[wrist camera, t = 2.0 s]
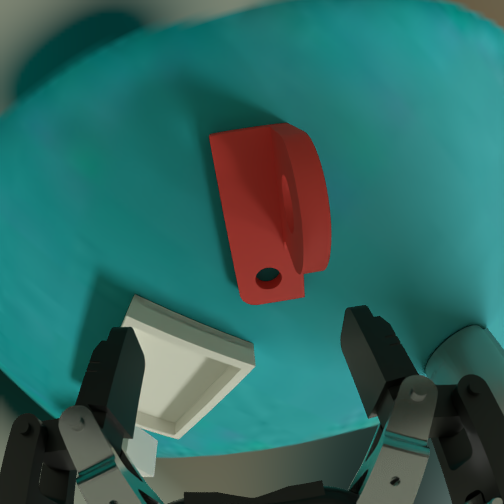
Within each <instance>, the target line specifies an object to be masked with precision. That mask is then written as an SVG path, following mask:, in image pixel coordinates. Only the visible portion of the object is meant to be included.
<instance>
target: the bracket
mask: <svg viewBox="0 0 504 504" xmlns="http://www.w3.org/2000/svg"><path fill="white" fill-rule="evenodd" d="M209 139H210V145H211V150H212V156H213V161H214V166H215V172H216V177H217V182H218V188H219V193H220V198H221V203H222V208H223V214H224V219H225V224H226V229H227V234H228V239H229V244H230V249H231V254H232V259H233V264H234V269H235V273H236V278H237V283H238V288H239V293H240V297H241V298H242V300H243V301H244V302H246V303H248V304H251V305H259V304H265V303H272V302H278V301H284V300H290V299H296V298H302V297H305V294H304V275H303V274H305V273H311V272H317V271H323V270H325V269H326V267H327V265H328V262H329V258H330V251H331V218H330V208H329V200H328V194H327V188H326V183H325V178H324V174H323V170H322V166H321V163H320V160H319V157H318V154H317V151H316V149H315V146H314V144H313V142H312V140H311V139H310V137H309V136H308V134H307V133H305V132H304V131H302V130H300V129H298V128H296V127H294V126H292V125H290V124H288V123H280V124H272V125H264V126H256V127H249V128H243V129H236V130H230V131H224V132H218V133H213V134H210V135H209ZM269 267H270V268H275V269H277V270H278V271H279V274H278V276H277V277H276V278H275V279H273V280H271V281H262V280H259V279H258V278H257V277H256V275H257V273H258V272H259V271H260V270H262V269H264V268H269Z"/></svg>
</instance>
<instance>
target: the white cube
mask: <svg viewBox="0 0 504 504" xmlns="http://www.w3.org/2000/svg"><path fill="white" fill-rule="evenodd" d="M157 442H158V441H157V440H156V439H154V438H153V437H152V436H150V435H149V434H148V433H146V432H145V431H144V430H142V429H141V428H139V427H136V426H135V429H134V436H133V439H126V438H123V442H122V447H123V449H124V450H125V452H126V453H127V455H128V457H129V458H130V460H131V461H132V463H133V464H134V466H135V467H136V469H137V470H138V472H139V473H140V475H141V476H142V477H154V470H155V460H156V451H157Z"/></svg>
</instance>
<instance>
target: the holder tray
mask: <svg viewBox="0 0 504 504" xmlns="http://www.w3.org/2000/svg"><path fill="white" fill-rule="evenodd" d="M121 327H132V328H133V330H134V332H135V334H136V337H137V339H138V341H139V344H140V346H141V349H142V351H143V353H144V357H145V371H144V377H143V382H142V387H141V393H140V398H139V404H138V410H137V416H136V422H135V426H136V427H139V428H142V429H145V430H148V431H152V432H155V433H158V434H161V435H165V436H168V437H172V438H176V439H179V438H180V437H182V436H183V435H184V434H185V433H186V432H187V431H188V430H189V429H191V428H192V427H193V426H194V425H195V424H196V423H197V422H198V421H199V420H200V419H202V418H203V417H204V416H205V415H206V414H207V413H208V412H209V411H210V410H211V409H212V408H213V407H214V406H215V405H217V404H218V403H219V402H220V401H221V400H222V399H223V398H224V397H225V396H226V395H227V394H228V393H229V392H230V391H231V390H232V389H233V388H234V387H235V386H236V385H237V384H238V383H239V382H240V381H241V380H242V379H243V378H244V377H245V376H246V375H247V374H248V373H249V372H250V371H251V370H252V369H253V368H254V367H255V356H254V346H253V343H250V342H247V341H244V340H242V339H239V338H237V337H234V336H231V335H229V334H226V333H224V332H221V331H219V330H216V329H214V328H211V327H209V326H206V325H204V324H201V323H199V322H197V321H194V320H192V319H189V318H187V317H185V316H182V315H180V314H178V313H175V312H173V311H171V310H168V309H166V308H164V307H162V306H160V305H157V304H155V303H153V302H151V301H148V300H146V299H144V298H142V297H140V296H138V295H136V294H135V295H134V297H133V299H132V301H131V304H130V306H129V308H128V311H127V313H126V315H125V318H124V320H123V322H122V325H121Z"/></svg>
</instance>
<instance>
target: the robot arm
mask: <svg viewBox="0 0 504 504" xmlns="http://www.w3.org/2000/svg"><path fill="white" fill-rule="evenodd" d="M341 348H342V352H343V354H344V357H345V359H346V362H347V364H348V367H349V369H350V372H351V374H352V377H353V380H354V382H355V385H356V387H357V390H358V393H359V395H360V398H361V400H362V403H363V406H364V409H365V411H366V414H367V417H368V419H369V418H372V417H376V416H378V418H379V421H380V423H379V425H378V428H377V431H376V433H375V436H374V438H373V440H372V443H371V445H370V447H369V450H368V452H367V455H366V457H365V459H364V461H363V464H362V465H361V467H360V469H359V471H358V473H357V474H356V476H355V478H354V480H353V482H352V483H351V485H350V487H349V489H348V490H345V489H341V488H337V487H329V486H323V483H322V481H316V482H311V483H306V484H300V485H294V486H288V487H285V488H283V489H280V490H277V491H275V492H271V493H269V494H266V495H263V496H260V497H256V498H248V497H241V496H235V495H229V494H223V493H218V492H210V493H208V492H206V493H205V492H202V493H201V492H200V493H199V492H198V493H197V492H184V498H183V499H179V500H176V501H173V502H171V503H168V504H413V502H414V499H415V497H416V494H417V491H418V488H419V485H420V483H421V480H422V477H423V474H424V470H425V467H426V464H427V461H428V457H429V453H430V448H429V447H427V440H428V438H431V440H432V442H433V445H434V448H435V451H436V454H437V457H438V459H439V462H440V465H441V468H442V471H443V474H444V477H445V481H446V484H447V487H448V490H449V494H450V497H451V500H452V504H504V349H503V348H502V347H501V345H500V344H499V343H498V341H497V340H496V339H495V337H494V336H493V335H492V333H491V332H490V331H489V330H488V328H487V329H482V328H481V327H480V326H477V325H472V326H469V327H466V328H464V329H462V330H460V331H458V332H457V333H455V334H454V335H452V336H451V337H450V338H448V339H447V340H446V341H445V342H444V343H443V344H441V345H440V347H439V348H438V349H437V350H436V351H435V352H434V353H433V355H432V356H431V357H430V359H429V361H428V362H427V365H426V368H425V373H426V375H427V377H428V378H427V377H425V376H422V375H419V374H418V372H417V371H416V369H415V367H414V365H413V363H412V362H411V360H410V358H409V356H408V355H407V353H406V351H405V349H404V348H403V346H402V344H400V341H399V339H398V337H397V336H396V334H395V332H394V330H393V329H392V327H391V325H390V324H389V323H388V322H387V321H385V320H384V319H383V318H382V317H380V316H377V317H373V315H372V313H371V311H370V310H369V308H368V306H366V305H362V306H355V307H349V308H347V309H346V311H345V316H344V321H343V327H342V332H341ZM144 371H145V357H144V353H143V351H142V349H141V346H140V344H139V341H138V339H137V337H136V334H135V332H134V330H133V328H132V327H113V328H112V329H111V331H110V334H109V336H108V339H107V341H101V342H100V343H99V345H98V346H97V347H96V348H95V349H94V351H93V353H92V356H91V359H90V363H89V365H88V367H87V372H86V373H85V376H84V379H83V382H82V385H81V388H80V391H79V395H78V398H77V401H76V404H75V406H71V407H69V408H67V409H66V410H65V411H64V412H63V413H62V414H61V416H60V418H58V419H53V420H46V421H40V420H39V419H38V418H37V417H36V416H35V415H33V414H30V413H26V414H23V415H20V416H19V417H18V418H17V419H16V420H15V421H14V423H13V425H12V428H11V432H10V435H9V439H8V442H7V447H6V451H5V455H4V459H3V463H2V467H1V472H0V504H74V491H75V483H76V482H77V485H78V487H79V489H80V491H81V493H82V495H83V497H84V499H85V501H86V502H87V504H164V503H163V501H162V500H161V499H160V498H159V497H158V495H157V494H156V493H155V492H154V491H153V490H152V489H151V488H150V487H149V486H148V484H147V483H146V482H145V480H144V479H143V477H142V476H141V475H140V473H139V472H138V470H137V469H136V467H135V466H134V464H133V463H132V461H131V460H130V458H129V457H128V455H127V453H126V452H125V450H124V449H123V447H122V442H123V438H126V439H133V436H134V429H135V422H136V416H137V410H138V404H139V398H140V393H141V387H142V382H143V377H144ZM42 463H43V465H42ZM41 468H42V471H41ZM77 471H78V474H79V477H77V478H76V475H77ZM40 474H41V477H40ZM39 480H40V483H39Z"/></svg>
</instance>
